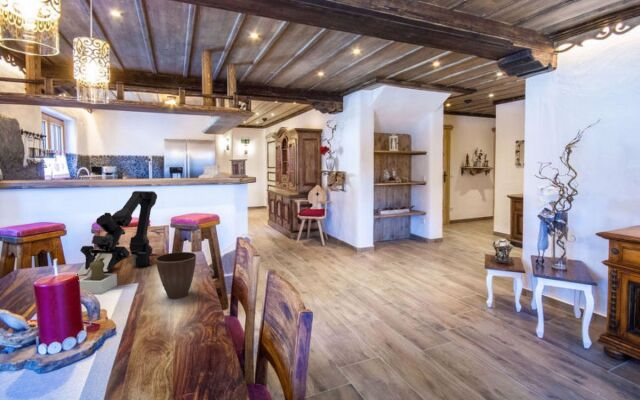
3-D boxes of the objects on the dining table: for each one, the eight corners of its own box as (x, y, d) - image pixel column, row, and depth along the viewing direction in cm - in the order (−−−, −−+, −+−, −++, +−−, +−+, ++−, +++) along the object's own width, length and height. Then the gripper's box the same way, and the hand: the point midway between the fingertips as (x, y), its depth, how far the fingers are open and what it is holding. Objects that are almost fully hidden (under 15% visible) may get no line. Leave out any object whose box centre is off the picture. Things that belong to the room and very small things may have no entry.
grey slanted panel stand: (118, 280, 168) (127, 254, 178) (108, 271, 162) (118, 244, 172) (86, 284, 169) (97, 258, 179) (74, 275, 162) (86, 249, 173)
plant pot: (158, 305, 129) (156, 263, 127) (156, 292, 142) (154, 254, 141) (199, 298, 136) (198, 259, 134) (194, 286, 149) (193, 250, 147)
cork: (99, 283, 149) (98, 258, 148) (110, 285, 147) (108, 260, 146) (86, 288, 144) (84, 262, 142) (97, 290, 142) (95, 264, 140)
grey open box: (94, 284, 150) (94, 273, 150) (117, 285, 150) (116, 273, 150) (77, 293, 141) (77, 281, 140) (101, 293, 140) (101, 281, 140)
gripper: (81, 227, 148) (63, 259, 138) (124, 228, 147) (108, 260, 138) (95, 241, 157) (79, 272, 147) (135, 241, 156) (122, 273, 146)
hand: (96, 269), depth 144 cm, fingers open, 9 cm apart
